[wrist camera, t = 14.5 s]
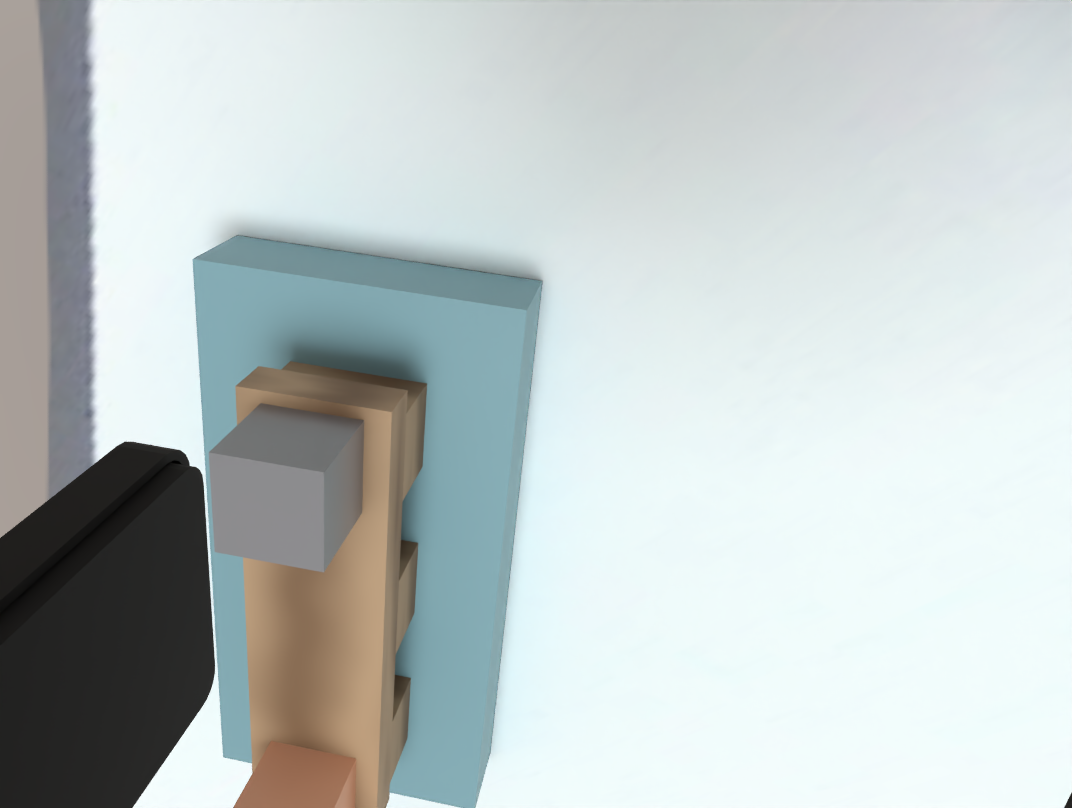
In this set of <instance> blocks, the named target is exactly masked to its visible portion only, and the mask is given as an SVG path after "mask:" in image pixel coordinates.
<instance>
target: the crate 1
mask: <svg viewBox="0 0 1072 808" xmlns="http://www.w3.org/2000/svg"><path fill="white" fill-rule="evenodd" d="M363 455H364V420H359V419H353V418H347V417H341V416H335V415H329V414H323V413H317V412H311V411H305V410H299V409H293V408H287V407H281V406H275V405H269V404H263V403H260V404H259V405H258V406H257V407H256V408H255V409H254V410H253V411H252V412H251V413H250V414H249V415H248V416H247V417H245V418H244V419H243V420H242V421H241V422H240V423H239V424H238V425H237V426H236V427H235V428H234V429H233V430H232V431H231V432H230V433H229V434H228V435H226V436H225V437H224V438H223V439H222V440H221V441H220V442H219V443H218V444H217V445H216V446H215V447H214V448H213V449H212V450H211V451H210V452H209V467H210V483H211V499H212V516H213V532H214V549H215V552H217V553H222V554H228V555H233V556H238V557H244V558H249V559H254V560H260V561H265V562H270V563H276V564H281V565H287V566H292V567H297V568H303V569H308V570H313V571H319V572H324V571H325V570H326V568H327V567H328V565H329V564H330V562H331V561H332V559H333V557H334V556H335V554H336V553H337V551H338V550H339V548H340V547H341V545H342V543H343V542H344V540H345V539H346V537H347V536H348V534H349V532H350V531H351V529H352V528H353V526H354V525H355V523H356V522H357V520H358V518H359V517H360V515H361V514H362V499H363Z"/></svg>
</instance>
